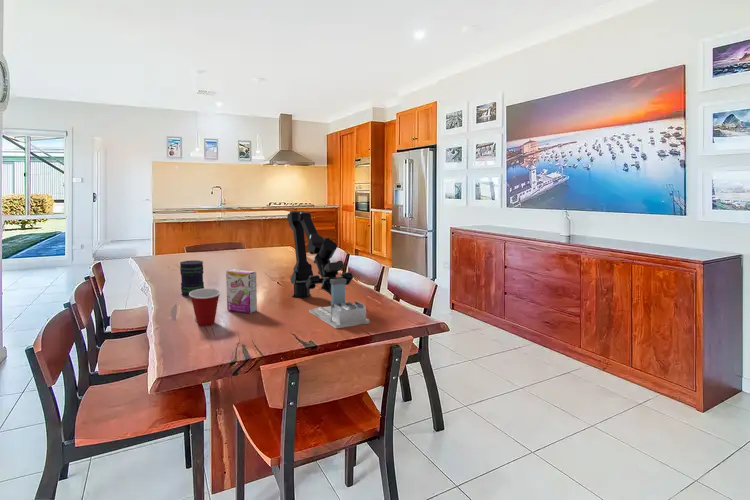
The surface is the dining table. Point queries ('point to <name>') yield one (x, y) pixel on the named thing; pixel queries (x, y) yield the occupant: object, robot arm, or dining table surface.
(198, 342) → the dining table surface
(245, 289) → the candy bar box
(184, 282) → the storage jar
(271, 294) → the dining table surface
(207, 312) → the plastic cup
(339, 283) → the light blue bar
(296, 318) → the dining table surface
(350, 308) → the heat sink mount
